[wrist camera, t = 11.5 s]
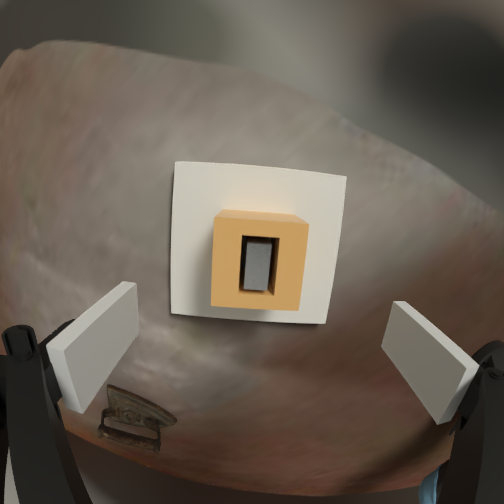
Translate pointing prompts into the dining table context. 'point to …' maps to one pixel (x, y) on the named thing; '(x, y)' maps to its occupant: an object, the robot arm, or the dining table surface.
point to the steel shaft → (257, 262)
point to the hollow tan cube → (281, 261)
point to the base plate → (248, 199)
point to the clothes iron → (134, 418)
